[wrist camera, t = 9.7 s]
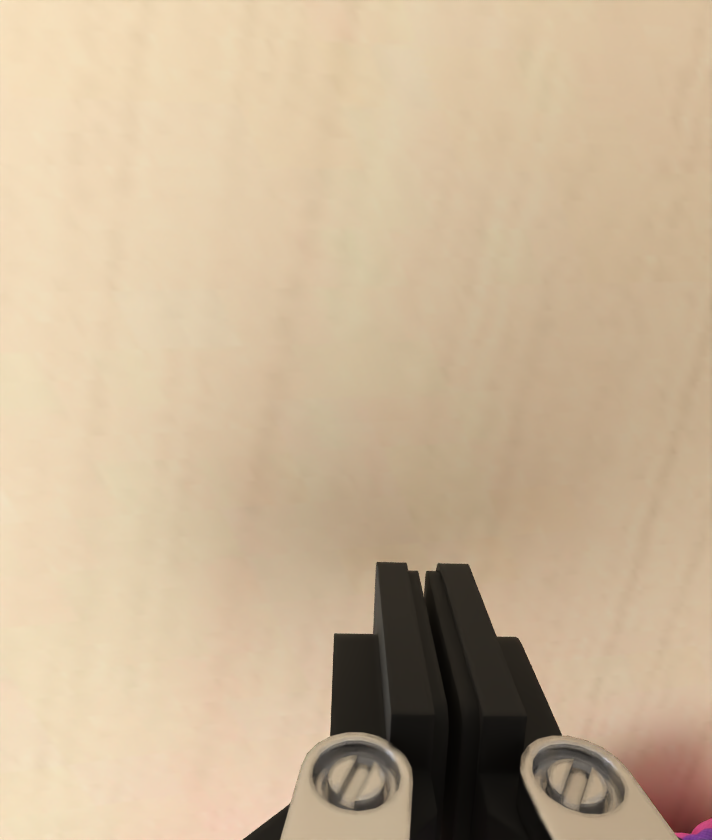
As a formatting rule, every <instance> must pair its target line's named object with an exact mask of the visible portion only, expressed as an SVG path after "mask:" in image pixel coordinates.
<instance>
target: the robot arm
mask: <svg viewBox="0 0 712 840" xmlns="http://www.w3.org/2000/svg"><path fill="white" fill-rule="evenodd" d="M243 840H682V839H681V838H679V837H677V836H676V835H675V833H674V832H673V831H672V829H671V828H670V826H669V825H668V824H667V822H666V821H665V820H664V818H663V817H662V815H661V814H660V813H659V811H658V810H657V809H656V807H655V806H654V804H653V803H652V802H651V800H650V799H649V798H648V796H647V795H646V793H645V792H644V791H643V789H642V788H641V787H640V785H639V784H638V782H637V781H636V780H635V778H634V777H633V776H632V774H631V773H630V772H629V770H628V769H627V768H626V767H625V766H624V765H623V764H622V763H621V762H620V761H619V760H618V758H616V757H615V756H613V755H612V754H611V753H609V752H608V751H606V750H605V749H603V748H602V747H600V746H598V745H595V744H593V743H591V742H589V741H586V740H583V739H579V738H575V737H571V736H562V734H561V732H560V730H559V727H558V725H557V723H556V721H555V718H554V716H553V714H552V712H551V709H550V707H549V705H548V702H547V700H546V698H545V696H544V693H543V691H542V689H541V687H540V684H539V682H538V680H537V678H536V675H535V673H534V671H533V669H532V666H531V664H530V662H529V660H528V657H527V655H526V653H525V651H524V648H523V646H522V644H521V642H520V640H519V639H518V638H516V637H496V634H495V631H494V629H493V626H492V624H491V621H490V618H489V616H488V613H487V611H486V608H485V605H484V603H483V600H482V598H481V595H480V592H479V590H478V587H477V585H476V582H475V580H474V577H473V574H472V572H471V569H470V567H469V565H468V564H440V563H438V564H437V568H436V571H427V572H426V576H425V589H424V596H423V591H422V586H421V582H420V577H419V573H418V571H408V568H407V564H406V563H394V562H377V564H376V579H375V603H374V627H373V634H334V652H333V679H332V706H331V732H330V737H329V738H327V739H325V740H323V741H321V742H319V743H318V744H317V745H315V746H314V747H313V748H312V749H311V750H310V751H309V752H308V753H307V755H306V757H305V759H304V761H303V763H302V765H301V768H300V772H299V775H298V779H297V782H296V786H295V790H294V793H293V797H292V800H291V803H290V804H289V805H288V806H287V807H285V808H284V809H283V810H281V811H280V812H279V813H277V814H276V815H275V816H273V817H272V818H271V819H269V820H268V821H267V822H265V823H264V824H263V825H261V826H260V827H259V828H257V829H256V830H255V831H254V832H252V833H251V834H250V835H248V836H247V837H246V838H244V839H243Z"/></svg>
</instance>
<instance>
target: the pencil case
mask: <svg viewBox="0 0 712 840" xmlns="http://www.w3.org/2000/svg"><path fill="white" fill-rule="evenodd" d="M675 835H676V836H677V837H679V838H681V839H682V840H712V818H711V819H708V820H706V821H703V822H701V823H700V824H699V825H697V826H696V827H695V828H694V829H693V831H692V833H691V834H688V833H675Z"/></svg>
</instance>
